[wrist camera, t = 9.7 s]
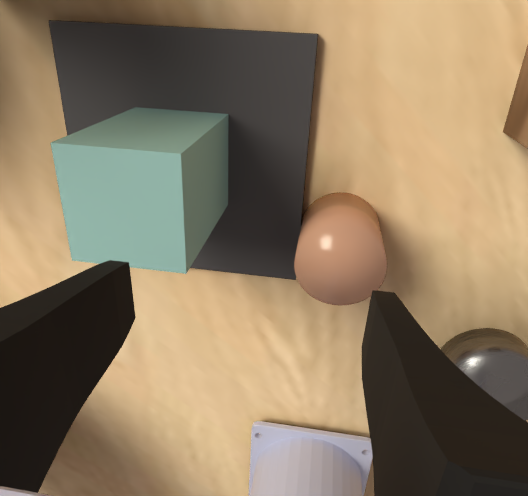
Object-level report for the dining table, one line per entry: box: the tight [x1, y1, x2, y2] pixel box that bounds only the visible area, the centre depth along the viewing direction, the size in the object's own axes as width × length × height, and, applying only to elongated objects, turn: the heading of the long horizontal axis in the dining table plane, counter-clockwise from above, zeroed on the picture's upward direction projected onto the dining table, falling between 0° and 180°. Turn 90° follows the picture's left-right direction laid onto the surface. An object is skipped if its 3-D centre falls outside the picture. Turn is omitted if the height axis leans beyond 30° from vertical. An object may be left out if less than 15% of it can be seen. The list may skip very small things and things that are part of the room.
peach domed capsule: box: [294, 193, 387, 305], centre depth 21 cm, size 4×4×4 cm
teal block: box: [51, 107, 228, 274], centre depth 19 cm, size 4×4×7 cm
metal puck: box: [441, 328, 528, 421], centre depth 24 cm, size 5×5×2 cm
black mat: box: [49, 20, 318, 280], centre depth 22 cm, size 12×12×1 cm
